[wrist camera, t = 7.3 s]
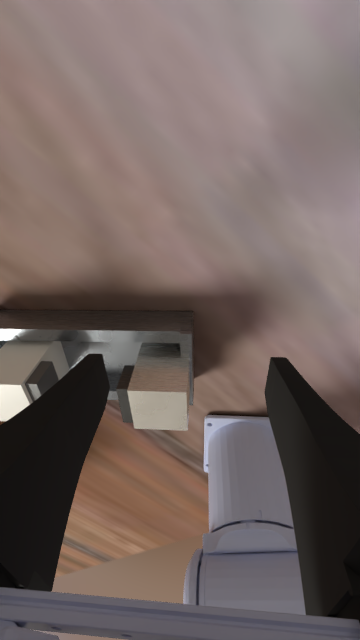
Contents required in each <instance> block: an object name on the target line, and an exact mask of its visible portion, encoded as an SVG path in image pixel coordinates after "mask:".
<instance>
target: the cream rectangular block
mask: <svg viewBox="0 0 360 640" xmlns="http://www.w3.org/2000/svg"><path fill="white" fill-rule="evenodd" d="M68 371H69V366H68V363H67V360H66V357H65V353H64V350H63V347H62V344H61V341H20V340H8V341H7V342H6V343H5V344H4V345H3V346H2V348H1V349H0V421H8V420H9V419H10V418H12V417H13V416H15V415H16V414H18V413H19V412H20V411H22V410H23V409H25V408H26V407H27V406H29V405H30V404H31V403H33V402H34V401H35V400H36V399H37V398H39V397H40V396H41V395H42V394H44V393H45V392H46V391H47V390H48V389H50V388H51V387H52V386H53V385H54V384H56V383H57V382H58V381H59V380H60V379H61V378H62V377H63V376H65V375H66V374H67V373H68Z"/></svg>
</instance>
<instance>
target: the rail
mask: <svg viewBox="0 0 360 640" xmlns="http://www.w3.org/2000/svg"><path fill="white" fill-rule="evenodd" d="M8 340H20V341H61V344H62V347H63V350H64V353H65V357H66V360H67V363H68V366H69V371H70V370H71V369H72V368H73V367H74V366H76V365H77V364H78V363H79V362H80V361H81V360H82V359H83V358H84V357H85V356H86V355H88V354H102V355H103V359H104V363H105V368H106V372H107V376H108V380H109V385H110V390H109V394H108V398H107V400H119V404H120V409H121V414H122V418H123V422H129V423H133V424H134V428H137V429H160V430H184V431H188V416H189V405H193V391H194V331H193V311H93V310H0V349H1V348H2V346H3V345H4V344H5V343H6V342H7V341H8ZM69 371H68V372H69Z"/></svg>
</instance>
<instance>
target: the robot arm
mask: <svg viewBox="0 0 360 640" xmlns="http://www.w3.org/2000/svg"><path fill="white" fill-rule="evenodd" d="M109 390H110V385H109V380H108V376H107V372H106V368H105V363H104V359H103V355H102V354H88V355H86V356H85V357H84V358H83V359H82V360H81V361H80V362H79V363H78V364H77V365H76V366H74V367H73V368H72V369H71V370H70V371H69V372H68V373H67V374H66V375H65V376H63V377H62V378H61V379H60V380H59V381H58V382H57V383H56V384H54V385H53V386H52V387H51V388H50V389H48V390H47V391H46V392H45V393H44V394H42V395H41V396H40V397H39V398H37V399H36V400H35V401H34V402H33V403H31V404H30V405H29V406H27V407H26V408H25V409H23V410H22V411H20V412H19V413H18V414H16V415H15V416H13V417H12V418H10V419H9V420H8V421H6V422H5V423H3V424H1V425H0V640H59V638H58V636H56V635H51V634H47V633H43V632H39V631H34V630H41V631H51V632H60V633H70V634H80V635H89V636H99V637H109V638H119V639H128V640H360V434H359V433H358V432H356V431H355V430H354V429H353V428H352V427H351V426H349V425H348V424H347V423H346V422H345V421H344V420H343V419H342V418H341V417H340V416H338V415H337V414H336V413H335V412H334V411H333V410H332V409H331V408H330V407H329V406H328V405H327V404H326V403H325V401H324V400H323V399H322V398H321V397H320V396H319V395H318V394H317V393H316V392H315V391H314V390H313V389H312V387H311V386H310V385H309V384H308V383H307V382H306V381H305V379H304V378H303V377H302V376H301V375H300V374H299V372H298V371H297V370H296V369H295V368H294V366H293V365H292V364H291V363H290V362H289V360H288V359H287V358H283V357H271V359H270V365H269V371H268V376H267V382H266V387H265V398H266V405H267V411H268V416H269V417H251V416H224V415H207V416H206V417H205V426H204V471H205V472H207V473H208V476H209V533H206V534H203V549H197V550H196V551H195V552H194V554H193V556H192V558H191V560H190V561H189V564H188V566H187V570H186V575H185V582H184V596H183V599H184V600H183V604H179V603H168V602H157V601H145V600H136V599H135V600H134V599H125V598H114V597H102V596H91V595H81V594H70V593H58V592H51V591H52V587H53V582H54V578H55V573H56V568H57V564H58V559H59V554H60V550H61V545H62V541H63V537H64V533H65V529H66V525H67V521H68V516H69V513H70V509H71V505H72V501H73V498H74V494H75V490H76V487H77V483H78V480H79V476H80V473H81V469H82V466H83V463H84V461H85V458H86V455H87V453H88V450H89V448H90V445H91V443H92V440H93V438H94V435H95V433H96V430H97V428H98V425H99V422H100V420H101V417H102V415H103V412H104V409H105V406H106V402H107V398H108V394H109ZM30 629H31V630H30Z"/></svg>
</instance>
